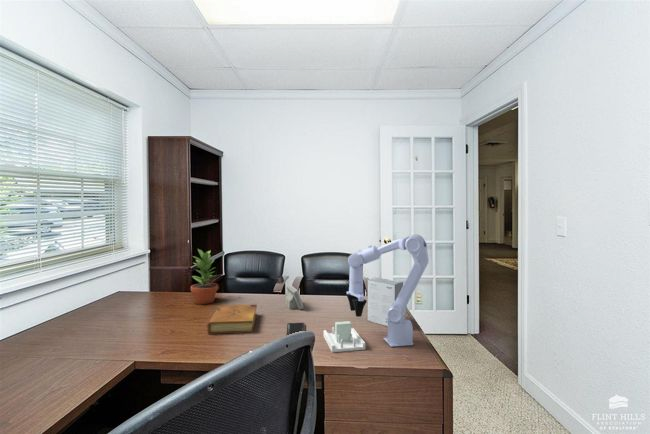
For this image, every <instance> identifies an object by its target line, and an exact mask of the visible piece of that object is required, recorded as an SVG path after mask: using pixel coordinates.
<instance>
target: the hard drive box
mask: <svg viewBox="0 0 650 434" xmlns="http://www.w3.org/2000/svg"><path fill="white" fill-rule="evenodd" d="M366 281H367V284H366V285H367V295H366V296H367V297H366V298H367V299H366V300H367V302H366V304H367V306H366V307H367V308H366V311H367V313H366V314H367V315H366V316H367V318H366V320H367V321H368V322H372V323H373V324H374V323H375V324H379V325H382V326H385V327H388V317H387V311H388V309H389V308H390V307H391V306H392V304H393V303H394V302H395V301H396V299H397V297H398V295H399V293H400V291H401V289H402V287H403V285H404V281H401V280H393V279H389V278H383V277H382V278H381V277H376V276H375V277H373V278H368V279H367V280H366Z"/></svg>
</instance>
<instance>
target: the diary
mask: <svg viewBox="0 0 650 434" xmlns="http://www.w3.org/2000/svg"><path fill="white" fill-rule="evenodd" d="M257 307H258V305H257V304H231V305H230V304H229V305H228V304H227V305H219V306H218V307H217V309H216V310H215V312H214V313H213V315H212V316H211V318H210V320H209V322H208V323H207V325H206V326H207V327H206V328H207V334H208V335H218V334H242V333H243V334H244V333H253V332H254V328H255V325H256V318H257V315H258V314H257V313H256V310H257Z"/></svg>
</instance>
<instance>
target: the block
mask: <svg viewBox="0 0 650 434" xmlns="http://www.w3.org/2000/svg"><path fill="white" fill-rule="evenodd" d="M351 328H352V322H351V321H349V320H347V321H346V320H345V321H335V322H334V333H335V340H336V342H338V335H340V342H341V339H342V340H343V341H350V334H351Z"/></svg>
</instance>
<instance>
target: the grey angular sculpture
mask: <svg viewBox="0 0 650 434" xmlns="http://www.w3.org/2000/svg"><path fill="white" fill-rule="evenodd" d="M285 287H286V289H287V295H286V296H285V301H284V302H285V303H284V304H285V306H286V307H287V308H288V309H289V310H295V309H297V310H302V311H303V309H304V308H305V307H304V304H303V301H302V299H301V296H300V292H299V291H298V290H297V288H295V287H294V286H293V285H292V284H287V285H286V286H285Z"/></svg>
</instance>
